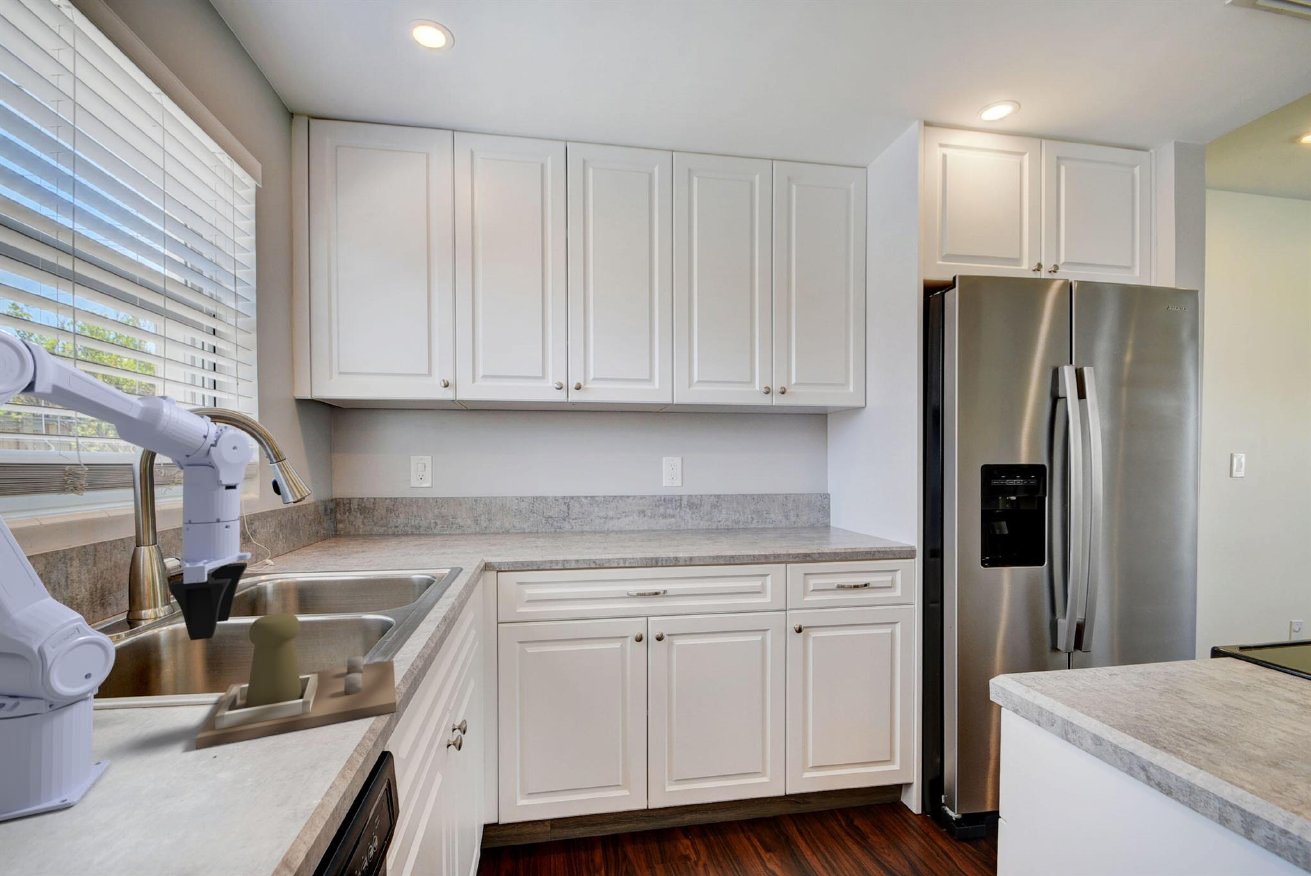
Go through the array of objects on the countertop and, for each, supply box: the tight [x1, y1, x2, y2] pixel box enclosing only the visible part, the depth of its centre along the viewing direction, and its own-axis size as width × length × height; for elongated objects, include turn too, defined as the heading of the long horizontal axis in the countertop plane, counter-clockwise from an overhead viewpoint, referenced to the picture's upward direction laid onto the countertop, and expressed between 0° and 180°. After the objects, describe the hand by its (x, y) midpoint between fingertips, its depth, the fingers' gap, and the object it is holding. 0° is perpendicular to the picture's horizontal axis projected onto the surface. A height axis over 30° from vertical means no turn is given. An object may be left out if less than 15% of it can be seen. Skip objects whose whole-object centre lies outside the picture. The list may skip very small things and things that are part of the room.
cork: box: [245, 612, 303, 709], centre depth 71 cm, size 6×6×11 cm
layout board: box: [195, 655, 397, 750], centre depth 74 cm, size 20×16×3 cm
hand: (210, 629), depth 71 cm, fingers open, 7 cm apart
